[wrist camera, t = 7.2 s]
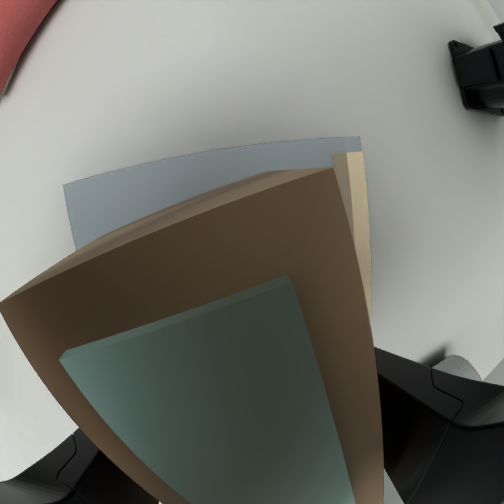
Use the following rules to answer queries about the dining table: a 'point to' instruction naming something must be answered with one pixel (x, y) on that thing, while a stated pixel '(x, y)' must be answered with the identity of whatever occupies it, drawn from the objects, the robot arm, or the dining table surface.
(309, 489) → the frame
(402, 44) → the dining table surface
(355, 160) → the grey flat panel
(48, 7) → the blood vessel
